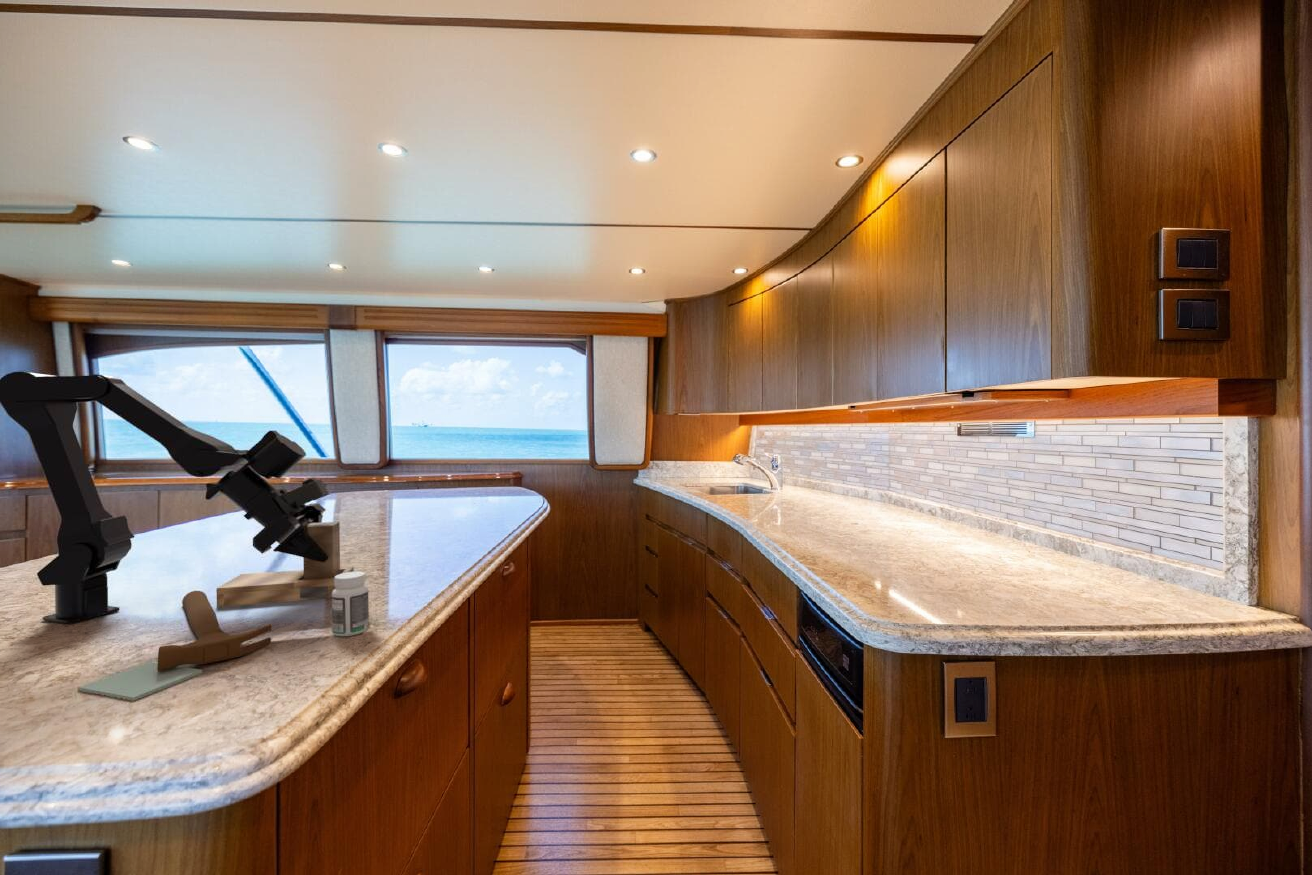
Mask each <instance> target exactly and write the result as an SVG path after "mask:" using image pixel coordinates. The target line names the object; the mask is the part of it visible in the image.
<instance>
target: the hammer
mask: <svg viewBox="0 0 1312 875" xmlns="http://www.w3.org/2000/svg"><path fill="white" fill-rule="evenodd" d="M181 604H182V606H183V609H184V610H185V614H186V617H187V619H188V624H189V625H190V627H191V629H192V631H193V632H194V633H195V635H196V637H197V640H194V641H192V642H190V643H187V644H181V645H180V644H179V645H178V644H177V645H176V644H169V645H168V644H167V645H162V646H161V645H160V646H159V647H158V652H157V663H158V664H157V670H158V672H159V671H165V670H169V669H172V668H175V667H177V666H180V667H182V666H185V665H186V666H187V665H206V664H211V663H217V662H221V661H226V660H230V659H235V658H239V657H243V656H245V655H248V654H251V653H254V652H255V651H257V650H260V649H261V648H262V649H263V648H264V647H266V646H267V645H268V646H269V645H270V644H271V642H272V641H271V640H272V637H270V636H269V637H266V638H264V639H261V640H257V641H255V642H253V643H249V644H246V645H243V646H241V645H242V644H243V643H245V642H248V641H250V640H252V639H255V638H258V637H259V636H261V635H264V634H266V633H268V632H272V628H273V626H272V624H267V625H264V626H262V627H260V628H257V629H254V630H251V631H248V632H244V633H241V634H233V635H230V634H229V633H227V632H224V630H223V629H221V627H220V624H219V621H218V617H217V614H216V612H215V609H214V608H213V606H212V605H211V603H210V601H209V599H208V596H207V594H206V593H205V592H204V591H201V590H192V591H190V592H188V593H186V594H185V595H184V596H183V598H182V600H181ZM269 643H270V644H269Z"/></svg>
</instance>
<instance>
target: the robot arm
mask: <svg viewBox="0 0 1312 875" xmlns="http://www.w3.org/2000/svg"><path fill="white" fill-rule="evenodd" d="M90 402H91V403H92V402H97V403H99V404H100V405H101V406H103V407H105V408H106V409H108V410H109V411H111V412H112V413H114V414H115V415H117V416H118V417H119V418H121V419H123V420H124V421H126V423H129V424H130V425H131V426H133V427H135V428H136V429H137V430H139V431H141V432H143V433H144V434H146V435H147V436H149V437H150V438H152V439H153V440H154V441H156V442H157V443H159V444H160V445H161V446H162V447H163V448H165V450H166V451H167V453H168V454H169V456H170V457H171V459H172V460H173V461H174V462H175V463H176V464H177V465H178V466H179V467H180V468H181V469H182V470H183V471H185V472H186V473H187V474H188V475H190V476H193V477H196V478H207V477H212V476H220V475H223V476H222V477H221V478H220V479H219V480H217V482H213V481H212V482H208V483H206V484H205V486H206V492H205V500H207V501H209V500H213V499H214V500H215V499H217V498H220V497H221V496H222V495H223V496H224V497H226V498H227V499H228V500H230V501H231V502H232V503H233V504H234V505H236V506H237V507H239V508H240V509H241V510H243V512H245V514H243V517H244V518H245V519H246V520H248V521H250V520H252V519H253V520H255V522H257V523H258V524H259V525H261V526H262V527H263V528H262V529H261V530H260V531H259V532H258V533H257V534H256V535H255V536H253V537H252V547H253V548H255V550H257V551H258V552H259V553H260V554H262V555H263V554H265V553H267V552H269V551H270V550H271V549H272V546H273V545H274V544H275V543H276V542H277V543H278V545H277V546H275V547H274V548H273V550H272V551H273V552H275V553H276V552H279V553H283V554H287V555H292V556H297V557H301V558H303V557H304V558H308V559H312V560H315V561H319V562H325V561H326V560H327V559H328V558H329V557H328V556H327V555H326V554H325V552H324V551H323V550H322V549H321V548H320V547H319V546H318V545H317V543H316V542H315V541H314V540H313V539H312V538H311V537H310V536H309V535H308V525H309V524H311V523H322V522H323V517H324V515H323V514H324V513H325V512H326V510H327V509H326V508H325V507H323V506H322V505H321V504H320V503H319V502H315V503H310V502H312V501H316V500H319V499H321V498H324V497H327V496H328V495H330V493H329V491H328V489H327V488H326V487H327V485H328V484H327V483H326V482H324V481H323V480H322V478H321V479H316V477H311V478H309V479H306V480H303V481H302V486H300V487H297V488H295V489H293V490H290V491H288V490H287V489H286V488H279V489H277V488H276V487H275V486H274V485H272V484H271V483H270V482H269V481H268V480H271V479H272V478H276V479H281V478H282V477H283V476H285V475H286V474H287V473H288V472H289V471H290V470H292V468H294V466H296V465H297V464H299V462H300V461H302V459H304V458H305V457H306V456H307V453H306V451H305V450H304V449H303V447H301V446H300V445H299V444H298V443H297V442H296V441H293V440H291V439H289V438H288V437H286V436H284V435H283V434H281V433H280V432H278V431H277V430H268V431H267V432H266V433H264V435H263V436H262V438H261V439H259V441H258V442H256V443H255V444H254V445H253V446H251V448H249V449H241V450H240V449H236V448H234V447H233V446H232V445H231V444H229V443H227V442H224V441H223V440H221V439H218V438H216V437H214V436H212V435H209V434H206V433H204V432H201V431H198V430H196V429H193V428H192V427H189V426H188V425H186V424H184V422H182V421H180V420H179V419H177V418H175V417H174V416H173V415H171V414H170V413H169V412H167V411H165V410H164V409H163V408H162V407H160V406H158V405H157V404H155V403H153V401H151V400H149V399H148V398H147V397H146V396H143V395H142V394H140V393H139V392H137V391H136V390H134V388H132V387H130V386H128V385H127V384H126V383H125V382H124V380H122V378H119V377H116V376H111V375H106V374H105V375H103V374H98V373H97V374H96V373H94V374H90V375H62V376H61V375H54V374H53V375H52V374H45V373H37V372H28V371H22V370H21V371H13V372H10V373H6V374H5V375H3V376H2V377H0V405H1V407H2V408H3V410H4V411H5V413H6V414H7V416H8V417H9V418H11V419H12V421H14V422H15V423H17V424H18V425H19V426H20V427H21V428H23V430H24V431H26V432H27V434H28V436H29V438H30V441H31V443H32V446H33V449H34V451H35V454H36V457H37V459H38V462H39V464H40V467H41V469H42V472H43V475H44V477H45V479H46V482H47V485H48V487H49V490H50V493H51V496H52V499H53V501H54V503H55V506H56V509H57V511H58V514H59V516H60V524H59V526H58V531H57V535H56V540H55V541H56V542H55V543H56V547H57V548H56V549H57V554H58V555H57V556H55V558H54V559H52V560H51V561H50V562H48V563H47V564H46V565H44V567H43V568H41V569H40V570H38V571H37V573H36V576H37V578H38V580H39V582H40V584H41V585H42V586H44V587H45V586H54V595H55V596H54V599H55V600H54V604H55V607H54V609H55V610H54V611H55V613H51V614H48V615H44V616H42V621H47V622H55V623H61V624H62V623H63V624H73V623H77V622H81V621H84V620H89V619H92V618H96V617H99V616H103V615H107V614H110V613H115V612H118V611H120V607H119V606H112V605H109V585H108V574H107V573H109V572H114V571H117V569H118V567H119V565H120V563H121V561H122V559H124V558H125V557H126V556H127V555H128V553H129V552H130V550H132V546H133V545H132V540H131V539H134V538H135V536H136V535H134V534H133V533H132V532H131V530H130V528H129V524H128V523H129V522H128V519H127V516H126V515H124V514H122V515H118V516H113V515H112V514H111V513H109V512H108V511H107V510H106V509H105V508H104V506H103V503H102V501H101V498H100V494H99V492H98V489H97V488H96V485H95V482H94V480H93V476H92V475H91V471H90V468H89V466H88V464H87V461H86V458H85V456H84V453H83V450H82V447H81V445H80V442H79V439H78V437H77V434H76V432H75V429H74V421H75V419H76V414H77V411H78V404H77V403H90ZM240 465H241V466H242V467H240V469H238V470H237V471H234V470H233V469H234V468H235V466H240ZM224 474H225V475H224ZM267 479H268V480H267ZM308 503H309V504H308Z"/></svg>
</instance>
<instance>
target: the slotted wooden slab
mask: <svg viewBox="0 0 1312 875" xmlns="http://www.w3.org/2000/svg"><path fill="white" fill-rule="evenodd" d="M354 569H355V567H354V566H345V567H340V574H342V573H347V572H355V570H354ZM334 589H336V587H335V585H334V578H325V579H311V580H304V569H301V570H297V569H296V570H284V571H269V572H255V573H254V572H252V573H240V574H239V575H238V576H236V577H233V579H231V580H229V581H227V582H225V583H224V584H222V585H220V586H219V587H216V607H217V608H221V607H231V606H233V607H234V606H235V607H236V606H246V605H257V604H259V605H260V604H270V603H284V602H295V601H296V602H297V601H307V600H320V599H332V592H333V590H334Z"/></svg>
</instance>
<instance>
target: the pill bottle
mask: <svg viewBox="0 0 1312 875" xmlns="http://www.w3.org/2000/svg"><path fill="white" fill-rule="evenodd" d="M365 583H366V573H365V572H364V571H354V572H347V573H342V574H339V575H336V576H335V577H334V585H335V587H336V589H334V590H333V592H332V598H331V610H332V611H331V616H332V617H331V618H332V619H331V620H332V624H331V625H332V635H334V636H336V637H350V636H351V637H352V636H356V635H359V634H361V633H364V632H365V631H367V630H368V629H369V626H370V619H369V618H370V616H369V615H370V612H369V609H370V608H369V587H368V586H367V585H366V584H365Z"/></svg>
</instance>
